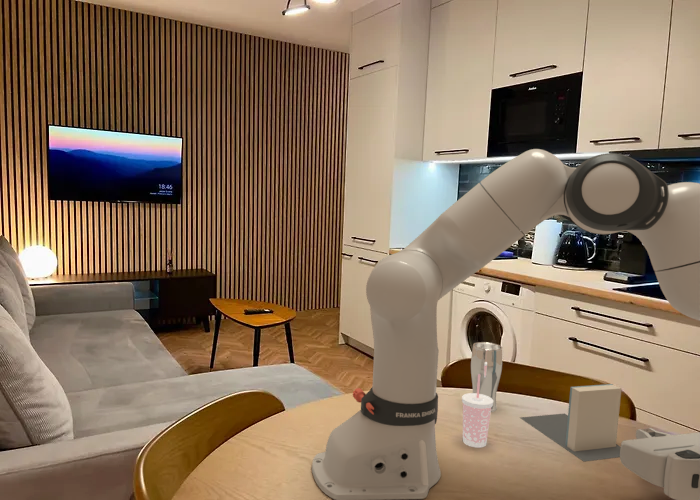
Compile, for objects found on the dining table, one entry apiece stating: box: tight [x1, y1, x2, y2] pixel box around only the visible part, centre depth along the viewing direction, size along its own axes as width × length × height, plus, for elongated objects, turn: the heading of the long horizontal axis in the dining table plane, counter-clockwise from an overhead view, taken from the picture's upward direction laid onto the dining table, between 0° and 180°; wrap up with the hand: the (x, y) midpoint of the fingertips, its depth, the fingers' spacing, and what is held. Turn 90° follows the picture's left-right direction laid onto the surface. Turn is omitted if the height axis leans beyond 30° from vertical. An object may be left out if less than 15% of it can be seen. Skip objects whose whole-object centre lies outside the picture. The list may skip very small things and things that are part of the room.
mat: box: [519, 413, 621, 463], centre depth 108 cm, size 12×20×1 cm, turn 17°
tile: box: [565, 383, 622, 451], centre depth 102 cm, size 10×2×12 cm, turn 107°
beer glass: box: [470, 341, 503, 413], centre depth 120 cm, size 7×7×15 cm
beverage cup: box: [461, 374, 493, 448], centre depth 103 cm, size 6×6×14 cm
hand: (642, 432), depth 91 cm, fingers closed
